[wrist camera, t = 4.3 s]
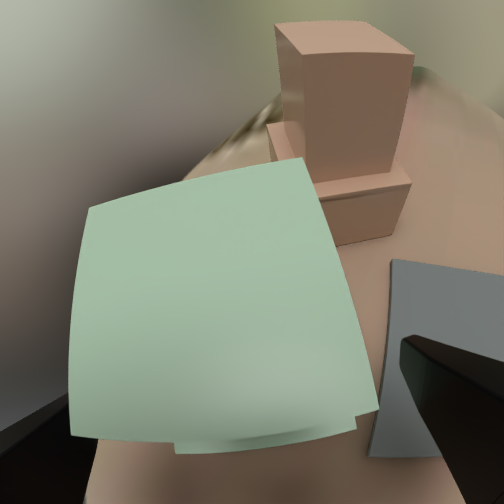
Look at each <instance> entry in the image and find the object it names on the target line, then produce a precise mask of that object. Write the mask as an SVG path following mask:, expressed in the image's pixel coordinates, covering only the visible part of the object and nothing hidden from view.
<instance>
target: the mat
mask: <svg viewBox="0 0 504 504" xmlns="http://www.w3.org/2000/svg"><path fill="white" fill-rule="evenodd" d="M413 334H416V335H419V336H422V337H426V338H429V339H432V340H435V341H438V342H441V343H444V344H447V345H451V346H454V347H457V348H460V349H463V350H467V351H470V352H473V353H476V354H480V355H483V356H486V357H490V358H493V359H496V360H500V361H503V362H504V276H502V275H495V274H489V273H483V272H477V271H470V270H464V269H458V268H451V267H445V266H438V265H432V264H425V263H419V262H412V261H405V260H399V259H392V260H391V262H390V296H389V313H388V326H387V338H386V348H385V356H384V365H383V372H382V379H381V386H380V392H379V398H378V404H379V410H376V415H375V420H374V425H373V430H372V435H371V439H370V444H369V448H368V452H367V456H368V457H386V458H414V457H437V456H442V454H441V452H440V450H439V449H438V447H437V445H436V443H435V441H434V439H433V437H432V436H431V434H430V432H429V430H428V428H427V426H426V425H425V423H424V421H423V419H422V418H421V416H420V414H419V412H418V410H417V407H416V405H415V403H414V400H413V398H412V396H411V393H410V391H409V388H408V386H407V384H406V381H405V379H404V377H403V375H402V372H401V370H400V366H399V357H400V343H401V340H402V338H404V337H407V336H410V335H413Z"/></svg>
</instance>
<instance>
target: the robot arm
mask: <svg viewBox="0 0 504 504" xmlns="http://www.w3.org/2000/svg"><path fill="white" fill-rule="evenodd" d="M399 366H400V370H401V372H402V375H403V377H404V379H405V381H406V384H407V386H408V388H409V391H410V393H411V396H412V398H413V400H414V403H415V405H416V407H417V410H418V412H419V414H420V416H421V418H422V419H423V421H424V423H425V425H426V426H427V428H428V430H429V432H430V434H431V436H432V437H433V439H434V441H435V443H436V445H437V447H438V449H439V450H440V452H441V454H442V456H443V458H444V460H445V462H446V464H447V466H448V468H449V470H450V472H451V474H452V476H453V478H454V480H455V482H456V484H457V486H458V488H459V490H460V492H461V494H462V496H463V498H464V500H465V502H466V504H504V362H503V361H500V360H496V359H493V358H490V357H486V356H483V355H480V354H476V353H473V352H470V351H467V350H463V349H460V348H457V347H454V346H451V345H447V344H444V343H441V342H438V341H435V340H432V339H429V338H426V337H422V336H419V335H416V334H413V335H410V336H407V337H404V338H402V340H401V343H400V357H399ZM97 444H98V439H96V438H88V437H80V436H73V435H71V429H70V414H69V392H68V393H66V394H64V395H62V396H61V397H59V398H57V399H56V400H54V401H52V402H51V403H49V404H47V405H46V406H44V407H42V408H40V409H39V410H37V411H35V412H34V413H32V414H30V415H28V416H27V417H25V418H23V419H21V420H20V421H18V422H16V423H14V424H13V425H11V426H9V427H7V428H6V429H4V430H3V431H0V504H83V501H84V497H85V493H86V489H87V485H88V481H89V477H90V473H91V469H92V465H93V462H94V458H95V454H96V449H97Z"/></svg>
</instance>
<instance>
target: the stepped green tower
mask: <svg viewBox="0 0 504 504" xmlns="http://www.w3.org/2000/svg"><path fill="white" fill-rule="evenodd" d="M375 410H379V404H378V399H377V394H376V390H375V385H374V381H373V377H372V372H371V368H370V364H369V360H368V356H367V352H366V348H365V344H364V340H363V337H362V333H361V329H360V326H359V322H358V318H357V315H356V311H355V308H354V304H353V301H352V298H351V294H350V291H349V288H348V284H347V281H346V278H345V275H344V271H343V268H342V265H341V262H340V259H339V256H338V253H337V250H336V247H335V244H334V241H333V238H332V235H331V232H330V229H329V226H328V224H327V221H326V218H325V215H324V212H323V210H322V207H321V204H320V201H319V199H318V196H317V193H316V191H315V188H314V186H313V183H312V180H311V178H310V175H309V173H308V170H307V168H306V165H305V163H304V160H303V158H302V157H299V158H293V159H287V160H281V161H276V162H270V163H265V164H259V165H254V166H249V167H244V168H239V169H234V170H229V171H225V172H220V173H216V174H211V175H207V176H202V177H198V178H194V179H190V180H186V181H182V182H178V183H174V184H170V185H166V186H162V187H158V188H155V189H151V190H147V191H144V192H140V193H136V194H133V195H129V196H126V197H122V198H119V199H116V200H112V201H109V202H106V203H103V204H99V205H96V206H93V207H90V208H89V212H88V216H87V221H86V225H85V230H84V234H83V239H82V245H81V250H80V256H79V262H78V267H77V274H76V281H75V289H74V297H73V306H72V316H71V328H70V344H69V414H70V429H71V435H73V436H80V437H88V438H96V439H106V440H117V441H133V442H174V447H175V454H204V453H222V452H234V451H245V450H254V449H262V448H269V447H276V446H282V445H288V444H294V443H299V442H304V441H309V440H314V439H319V438H323V437H328V436H332V435H336V434H340V433H344V432H348V431H351V430H355V429H357V426H356V421H355V416H359V415H362V414H366V413H369V412H372V411H375Z"/></svg>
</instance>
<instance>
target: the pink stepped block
mask: <svg viewBox="0 0 504 504" xmlns="http://www.w3.org/2000/svg"><path fill="white" fill-rule="evenodd" d="M274 29H275V37H276V45H277V54H278V64H279V73H280V83H281V94H282V105H283V116H284V122H279V123H273V124H267V133H268V141H269V149H270V157H271V162H276V161H281V160H287V159H293V158H299V157H302V158H303V160H304V163H305V165H306V168H307V170H308V173H309V175H310V178H311V180H312V183H313V186H314V188H315V191H316V193H317V196H318V199H319V201H320V204H321V207H322V210H323V212H324V215H325V218H326V221H327V224H328V226H329V229H330V232H331V235H332V238H333V241H334V244H335V246H340V245H345V244H350V243H355V242H359V241H364V240H369V239H374V238H379V237H384V236H389V235H392V232H393V230H394V228H395V225H396V223H397V220H398V218H399V216H400V213H401V211H402V208H403V206H404V203H405V201H406V198H407V195H408V193H409V190H410V187H411V185H412V182H411V180H410V179H409V177H408V175H407V174H406V172H405V171H404V169H403V167H402V166H401V164H400V163H399V161H398V160H397V158H396V157H395V151H396V147H397V143H398V139H399V135H400V131H401V126H402V122H403V117H404V113H405V108H406V103H407V98H408V93H409V88H410V82H411V76H412V70H413V64H414V57H415V54H413V53H412V52H410V51H409V50H408V49H406V48H405V47H403V46H402V45H401V44H399V43H398V42H396V41H395V40H393V39H392V38H390V37H389V36H387V35H385V34H384V33H382V32H381V31H379V30H378V29H376V28H374V27H373V26H371V25H369V24H368V23H366V22H364V21H307V22H292V23H280V24H274Z"/></svg>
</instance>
